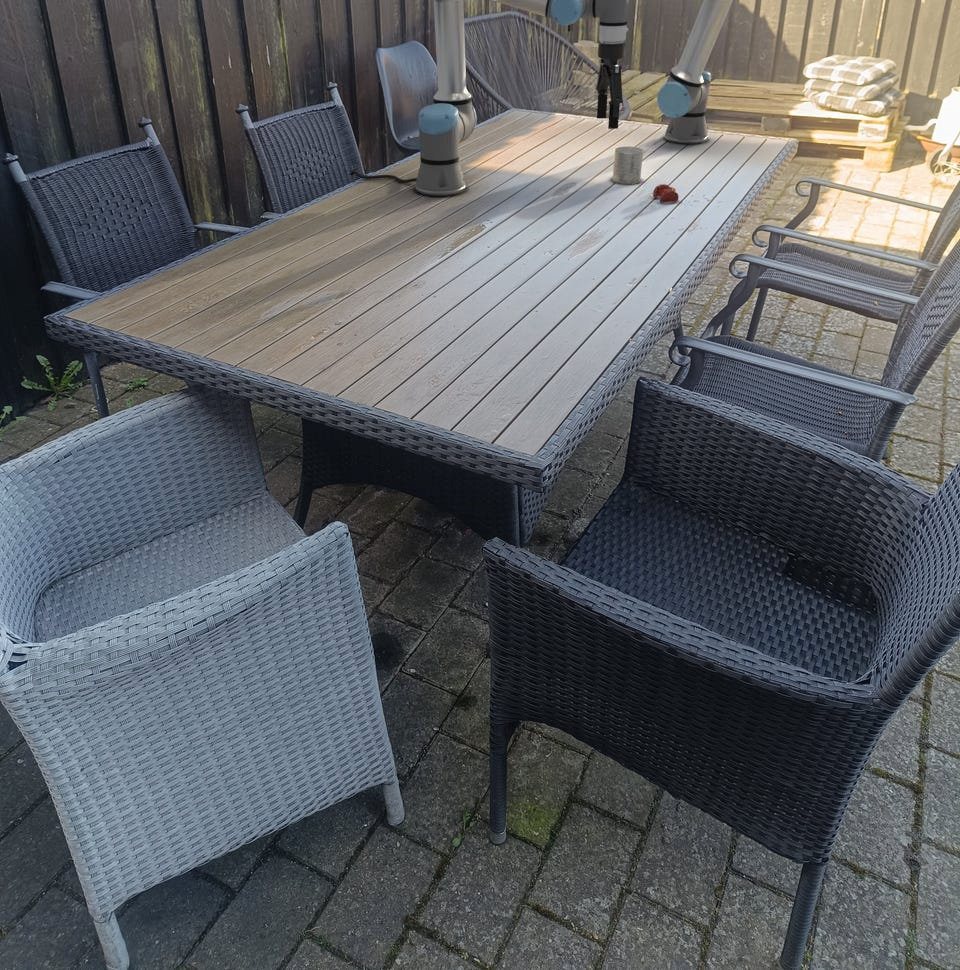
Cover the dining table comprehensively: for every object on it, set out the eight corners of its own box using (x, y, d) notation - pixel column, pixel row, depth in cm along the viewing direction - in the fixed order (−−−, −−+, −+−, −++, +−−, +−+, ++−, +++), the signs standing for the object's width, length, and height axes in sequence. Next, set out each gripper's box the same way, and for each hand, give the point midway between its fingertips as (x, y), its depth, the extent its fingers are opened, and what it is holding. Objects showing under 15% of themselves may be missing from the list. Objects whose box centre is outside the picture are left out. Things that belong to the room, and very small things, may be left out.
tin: (631, 185, 262) (634, 155, 256) (607, 181, 266) (610, 150, 261) (645, 179, 267) (648, 149, 262) (621, 174, 272) (623, 145, 266)
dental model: (669, 180, 251) (681, 188, 245) (668, 194, 254) (679, 202, 248) (652, 182, 250) (663, 190, 244) (650, 196, 253) (662, 204, 247)
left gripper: (637, 48, 224) (631, 132, 237) (613, 35, 245) (608, 113, 257) (610, 49, 224) (605, 133, 236) (588, 36, 244) (584, 114, 256)
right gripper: (554, -40, 285) (551, 31, 298) (623, -37, 275) (617, 36, 288) (563, -41, 291) (560, 28, 303) (631, -38, 281) (625, 33, 293)
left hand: (607, 123), depth 247 cm, fingers open, 13 cm apart
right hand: (588, 32), depth 295 cm, fingers open, 13 cm apart
